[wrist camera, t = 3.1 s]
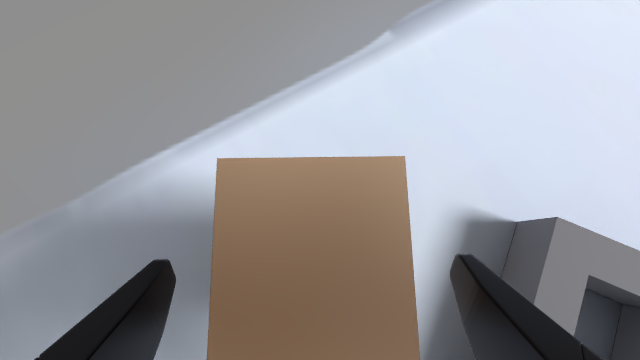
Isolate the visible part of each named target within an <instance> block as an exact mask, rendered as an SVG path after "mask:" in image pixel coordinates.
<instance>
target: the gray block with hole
mask: <svg viewBox="0 0 640 360" xmlns="http://www.w3.org/2000/svg"><path fill="white" fill-rule="evenodd" d="M501 279H503V280H504V281H505V282H506V283H508V284H509V285H510V286H511V287H513V288H514V289H515V290H516V291H518V292H519V293H520V294H521V295H523V296H524V297H525V298H526V299H528V300H529V301H530V302H531V303H533V304H534V305H535V306H536V307H538V308H539V309H540V310H541V311H543V312H544V313H545V314H546V315H548V316H549V317H550V318H551V319H553V320H554V321H555V322H556V323H558V324H559V325H560V326H561V327H563V328H564V329H565V330H566V331H568V332H569V333H570V334H571V335H573V336H574V334H575V329H576V325H577V321H578V317H579V313H580V309H581V305H582V301H583V297H584V292H585V288H586V289H589V290H591V291H593V292H596V293H598V294H600V295H603V296H605V297H607V298H610V299H612V300H614V301H617V302H619V303H621V304H623V305H622V310H621V314H620V319H619V324H618V328H617V333H616V337H615V342H614V347H613V351H612V356H611V360H640V251H639V250H636V249H634V248H631V247H629V246H626V245H624V244H622V243H619V242H617V241H614V240H612V239H610V238H607V237H605V236H602V235H600V234H597V233H595V232H593V231H590V230H588V229H585V228H583V227H581V226H578V225H576V224H573V223H571V222H568V221H566V220H564V219H561V218H559V217H553V218H545V219H537V220H528V221H520V222H518V223H517V226H516V229H515V233H514V236H513V239H512V243H511V246H510V249H509V253H508V256H507V259H506V263H505V266H504V270H503V273H502V276H501Z"/></svg>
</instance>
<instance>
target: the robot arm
mask: <svg viewBox="0 0 640 360" xmlns="http://www.w3.org/2000/svg"><path fill="white" fill-rule="evenodd" d="M450 278H451V282H452V286H453V289H454V293H455V297H456V300H457V304H458V308H459V312H460V315H461V319H462V322H463V325H464V328H465V331H466V333H467V336H468V339H469V341H470V344H471V346H472V349H473V351H474V354H475V356H476V359H477V360H603V359H602V358H600V357H599V356H598V355H596V354H595V353H594V352H593V351H591V350H590V349H589V348H588V347H586V346H585V345H584V344H581V342H580V341H579V340H578V339H576V338H575V337H574V336H573V335H571V334H570V333H569V332H568V331H566V330H565V329H564V328H563V327H561V326H560V325H559V324H558V323H556V322H555V321H554V320H553V319H551V318H550V317H549V316H548V315H546V314H545V313H544V312H543V311H541V310H540V309H539V308H538V307H536V306H535V305H534V304H533V303H531V302H530V301H529V300H528V299H526V298H525V297H524V296H523V295H521V294H520V293H519V292H518V291H516V290H515V289H514V288H513V287H511V286H510V285H509V284H508V283H506V282H505V281H504V280H503V279H501V278H500V277H499V276H498V275H496V274H495V273H494V272H493V271H491V270H490V269H489V268H488V267H486V266H485V265H484V264H483V263H481V262H480V261H479V260H478V259H476V258H475V257H474V256H473V255H471V254H457V255H456V256H455V258H454V261H453V264H452V267H451V270H450ZM175 284H176V277H175V274H174V271H173V268H172V266H171V263H170V261H169V260H168V259H156V260H153V261H152V262H151V263H149V264H148V265H147V266H146V267H145V268H143V269H142V270H141V271H140V272H139V273H137V274H136V275H135V276H134V277H133V278H131V279H130V280H129V281H128V282H127V283H125V284H124V285H123V286H122V287H121V288H119V289H118V290H117V291H116V292H115V293H113V294H112V295H111V296H110V297H109V298H108V299H106V300H105V301H104V302H103V303H102V304H100V305H99V306H98V307H97V308H96V309H94V310H93V311H92V312H91V313H90V314H88V315H87V316H86V317H85V318H84V319H82V320H81V321H80V322H79V323H78V324H76V325H75V326H74V327H73V328H72V329H70V330H69V331H68V332H67V333H66V334H64V335H63V336H62V337H61V338H60V339H58V340H57V341H56V342H55V343H54V344H52V345H51V346H50V347H49V348H48V349H46V350H45V351H44V352H43V353H42V354H41V355H40V356H39V357H37V358H36V359H34V360H153V359H154V357H155V354H156V351H157V348H158V346H159V343H160V340H161V337H162V334H163V331H164V328H165V324H166V320H167V316H168V312H169V308H170V304H171V300H172V296H173V292H174V288H175Z"/></svg>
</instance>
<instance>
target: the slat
mask: <svg viewBox="0 0 640 360" xmlns="http://www.w3.org/2000/svg"><path fill="white" fill-rule="evenodd" d="M207 360H420V351H419V338H418V324H417V311H416V297H415V284H414V271H413V257H412V244H411V230H410V217H409V204H408V190H407V177H406V163H405V156H382V157H299V158H217V171H216V191H215V211H214V230H213V250H212V270H211V289H210V309H209V329H208V348H207Z"/></svg>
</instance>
